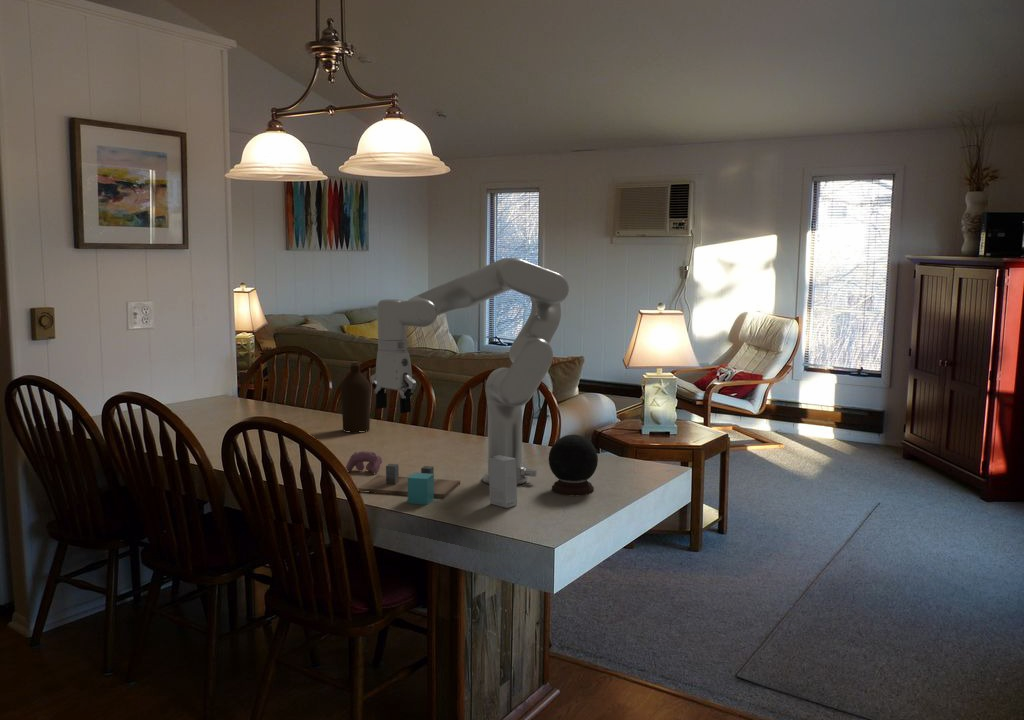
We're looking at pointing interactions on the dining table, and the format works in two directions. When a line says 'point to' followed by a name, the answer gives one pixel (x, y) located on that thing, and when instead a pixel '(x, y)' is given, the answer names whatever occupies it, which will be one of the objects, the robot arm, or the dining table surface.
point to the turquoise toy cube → (420, 488)
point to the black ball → (573, 465)
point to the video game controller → (362, 457)
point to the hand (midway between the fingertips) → (393, 410)
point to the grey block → (392, 474)
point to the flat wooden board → (401, 488)
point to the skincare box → (502, 481)
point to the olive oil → (355, 400)
